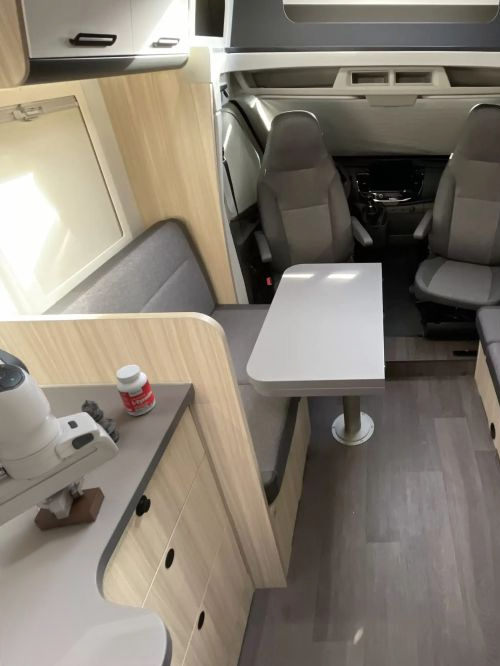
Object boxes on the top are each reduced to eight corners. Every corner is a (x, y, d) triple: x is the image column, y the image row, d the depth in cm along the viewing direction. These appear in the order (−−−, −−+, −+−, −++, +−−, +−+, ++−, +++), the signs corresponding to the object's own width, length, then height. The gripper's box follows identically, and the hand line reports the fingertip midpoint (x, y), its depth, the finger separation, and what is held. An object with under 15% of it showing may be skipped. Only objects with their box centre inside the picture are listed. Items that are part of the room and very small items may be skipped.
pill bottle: (137, 420, 100) (122, 384, 95) (121, 410, 103) (106, 374, 98) (161, 403, 105) (148, 367, 99) (146, 394, 108) (132, 358, 102)
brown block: (40, 530, 79) (33, 521, 77) (53, 505, 83) (46, 495, 81) (95, 521, 80) (89, 511, 78) (104, 496, 84) (99, 486, 83)
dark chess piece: (104, 427, 99) (85, 388, 93) (127, 431, 98) (109, 391, 92) (83, 449, 94) (62, 408, 88) (107, 453, 93) (87, 412, 87)
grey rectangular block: (68, 516, 78) (58, 502, 75) (57, 519, 77) (48, 504, 75) (76, 487, 82) (68, 473, 80) (67, 490, 82) (58, 475, 80)
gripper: (-42, 506, 64) (1, 557, 71) (108, 424, 77) (131, 474, 84) (-49, 480, 68) (-8, 532, 75) (95, 406, 81) (118, 456, 88)
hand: (67, 501), depth 80 cm, fingers closed on grey rectangular block, 2 cm apart
